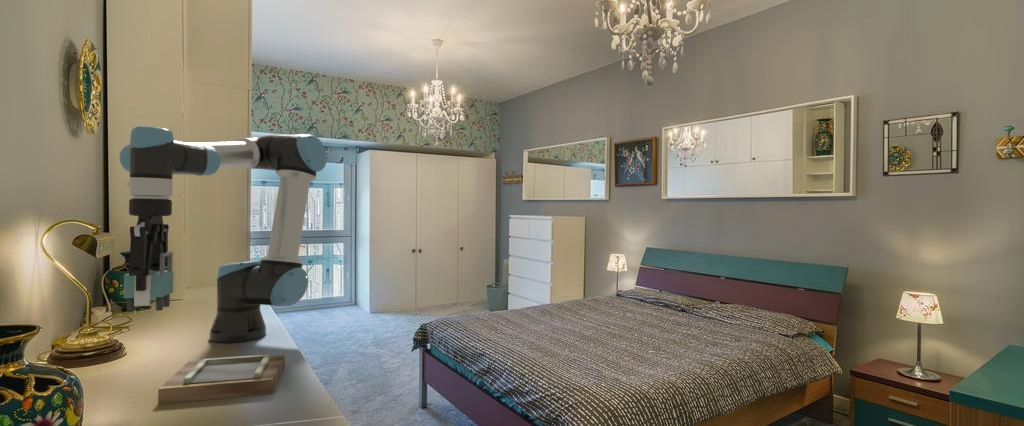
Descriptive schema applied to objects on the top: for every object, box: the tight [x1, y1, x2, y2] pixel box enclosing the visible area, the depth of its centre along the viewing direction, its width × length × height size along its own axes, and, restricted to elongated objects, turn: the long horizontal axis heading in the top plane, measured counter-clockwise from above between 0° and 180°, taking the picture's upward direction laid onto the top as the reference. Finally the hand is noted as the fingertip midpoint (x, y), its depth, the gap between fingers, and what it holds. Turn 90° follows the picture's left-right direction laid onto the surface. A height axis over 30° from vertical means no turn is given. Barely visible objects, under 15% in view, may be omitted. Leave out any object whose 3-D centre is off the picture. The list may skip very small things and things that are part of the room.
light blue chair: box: [123, 251, 174, 312], centre depth 104 cm, size 6×7×12 cm
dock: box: [157, 353, 286, 405], centre depth 108 cm, size 18×21×4 cm
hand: (149, 302), depth 104 cm, fingers closed on light blue chair, 6 cm apart
